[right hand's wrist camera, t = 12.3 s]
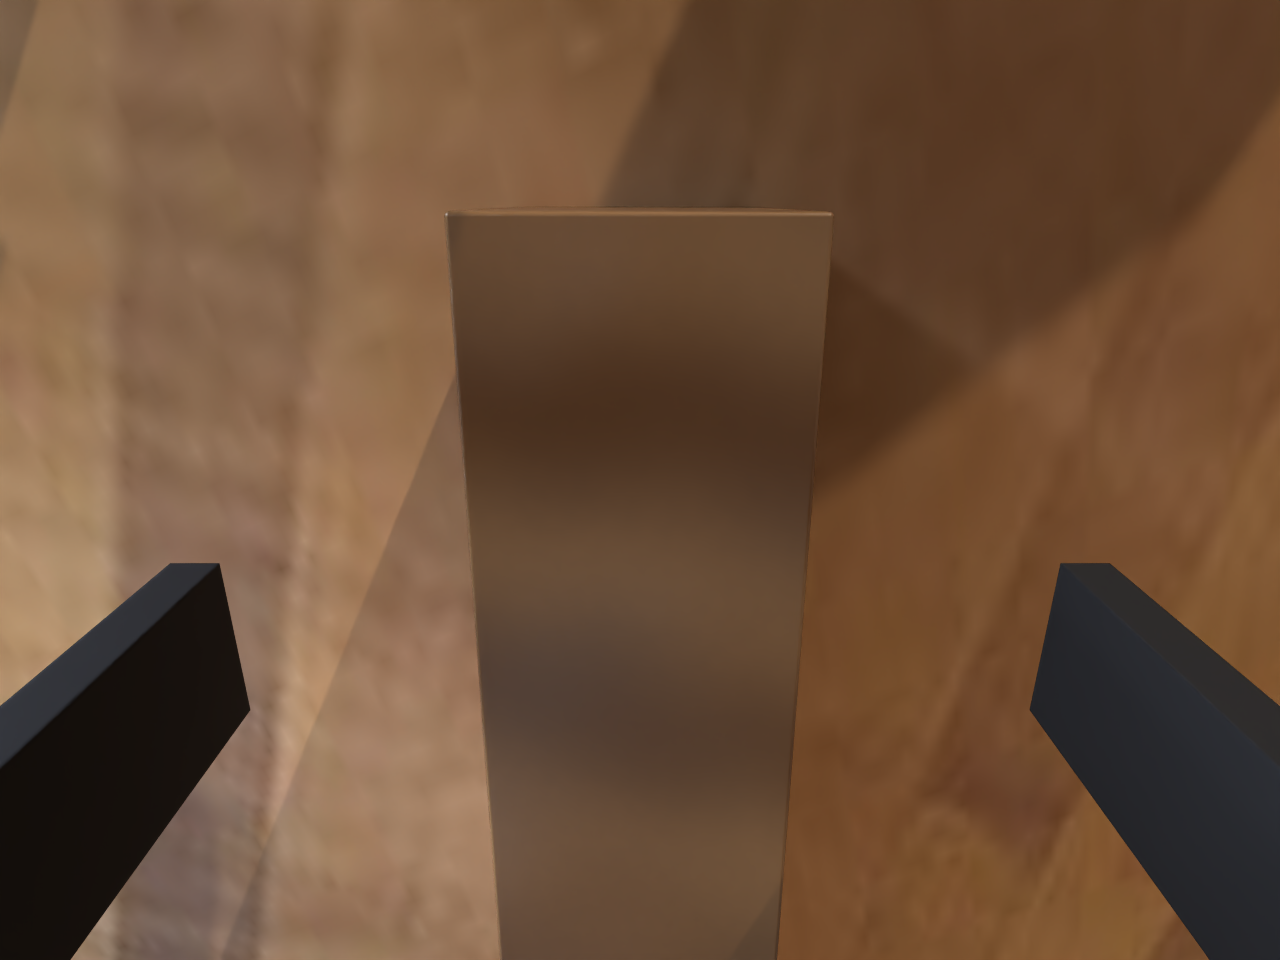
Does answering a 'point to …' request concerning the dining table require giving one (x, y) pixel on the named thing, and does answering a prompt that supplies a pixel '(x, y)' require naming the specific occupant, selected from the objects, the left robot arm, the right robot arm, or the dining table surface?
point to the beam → (638, 562)
